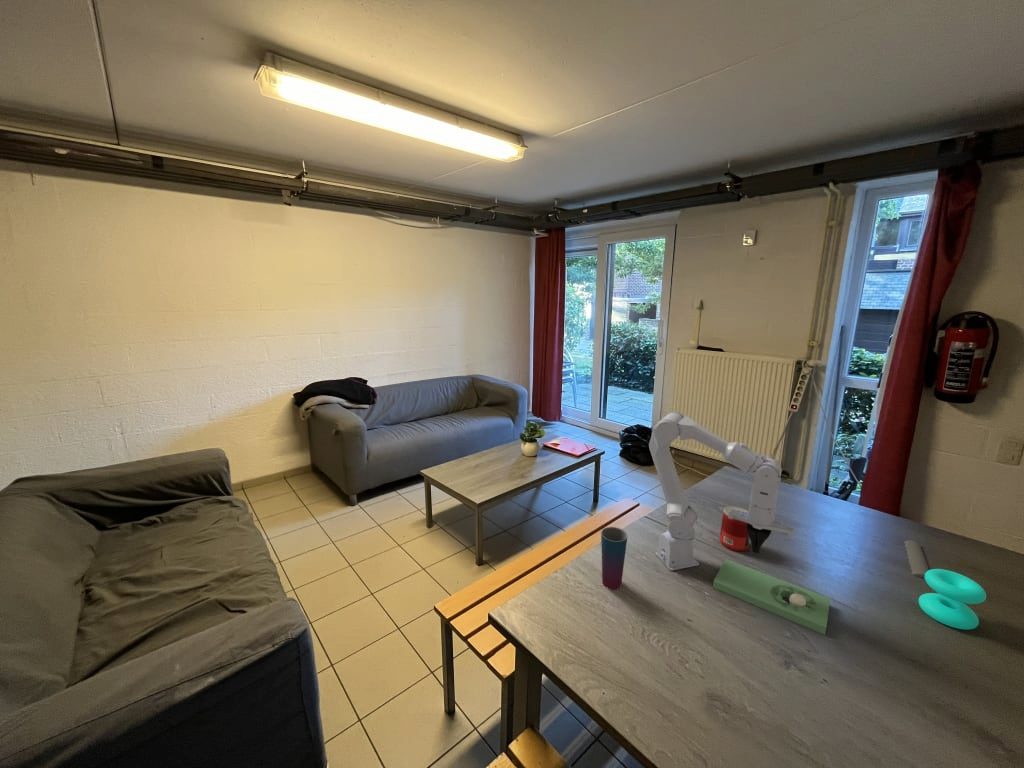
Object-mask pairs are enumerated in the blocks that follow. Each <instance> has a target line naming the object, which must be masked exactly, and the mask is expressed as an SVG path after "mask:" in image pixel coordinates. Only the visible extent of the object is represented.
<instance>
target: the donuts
mask: <svg viewBox="0 0 1024 768" xmlns="http://www.w3.org/2000/svg"><path fill="white" fill-rule="evenodd" d="M924 580H925V582H926V584H927V586H929V587H930V588H931V589H932V590H933V591H935V592H936V593H935V592H927V593H924V594H921V595H920V596H919V598H918V605H919V607H920V608H921V610H922V611H923V612H924V613H925V614H926V615H928V616H929V617H930V618H932V619H933V620H935V621H937V622H940V623H941V624H943V625H946V626H948V627H951V628H955V629H959V630H966V631H967V630H974V629H976V628H977V627H978V626H979V625H980V624H979V623H980V620H979V617H978V615H977V614H976V613H975V611H974V610H973V609H971V607H969V606H968V605H966V604H969V605H974V604H975V605H977V604H982V603H983V602H984V601H986V599H987V592H986V591H985V589H984V588H983V587H982V586H981V585H980V584H979V583H977V581H975V580H973V579H971V578H969V577H967V576H965V575H963V574H960V573H958V572H955V571H952V570H947V569H943V568H942V569H941V568H933V569H929V570H928V571H927V572H926V573H925V578H924Z"/></svg>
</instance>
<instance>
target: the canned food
mask: <svg viewBox="0 0 1024 768" xmlns="http://www.w3.org/2000/svg"><path fill="white" fill-rule="evenodd" d="M730 509H733V510H737V511H743V512H749V510H746V509H744V508H742V507H738V506H725V507H724V509H723V513H722V519H721V526H720V534H719V541H720V543H721V545H722V546H724V547H725V548H727V549H729V550H730V551H731V550H732V551H735V552H745V551H747V550H748V548H749V545H750V541H751V540H750V537H749V535H748V533H747V531H746V527H747V523H746V522H743V521H740V520H737V519H734V518H733V519H730V518H728V515H729V511H730Z"/></svg>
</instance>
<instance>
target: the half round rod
mask: <svg viewBox="0 0 1024 768" xmlns="http://www.w3.org/2000/svg"><path fill="white" fill-rule="evenodd" d="M904 543H905V545H904V548H905V547H906V549H905V551H906V550H907V553H906V556H907V555H908V556H907V559H909V560H908V563H909V567H910V566H911V567H910V570H912V571H911V574H912V576H916V577H918V576H919V578H922V577H923V578H922V579H925V573H926V572H927V571H928V570H930V569H929V567H928V562H927V561H926V558H925V554H924V552H922V551H923V548H922V546H921V544H919V542H917V541H915V540H904V541H903V544H904ZM921 548H922V549H921ZM923 554H924V555H923Z"/></svg>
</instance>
